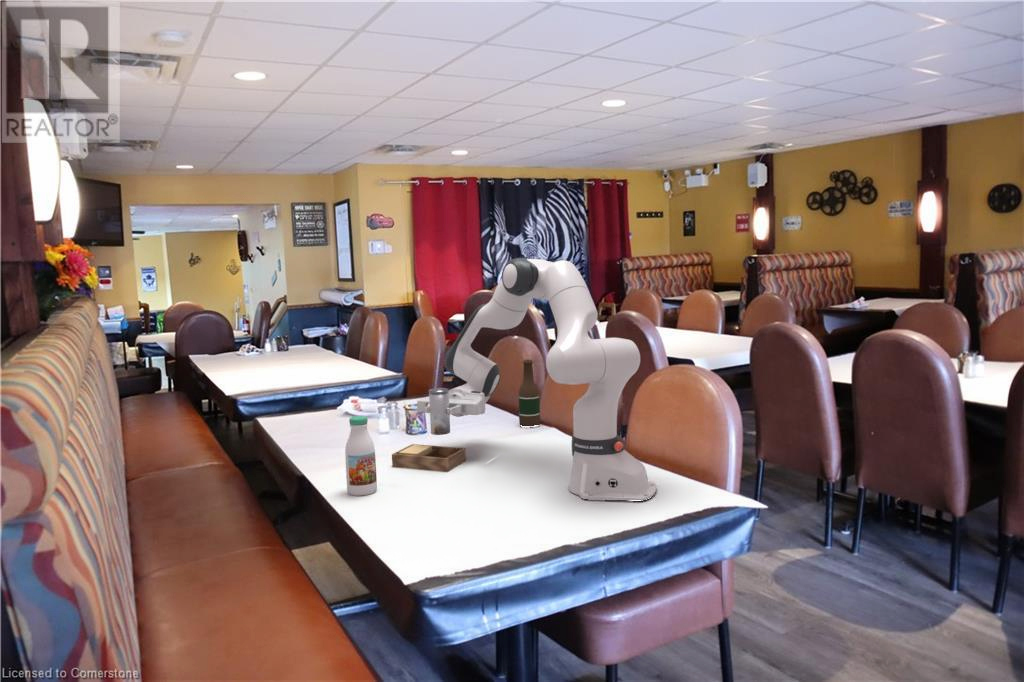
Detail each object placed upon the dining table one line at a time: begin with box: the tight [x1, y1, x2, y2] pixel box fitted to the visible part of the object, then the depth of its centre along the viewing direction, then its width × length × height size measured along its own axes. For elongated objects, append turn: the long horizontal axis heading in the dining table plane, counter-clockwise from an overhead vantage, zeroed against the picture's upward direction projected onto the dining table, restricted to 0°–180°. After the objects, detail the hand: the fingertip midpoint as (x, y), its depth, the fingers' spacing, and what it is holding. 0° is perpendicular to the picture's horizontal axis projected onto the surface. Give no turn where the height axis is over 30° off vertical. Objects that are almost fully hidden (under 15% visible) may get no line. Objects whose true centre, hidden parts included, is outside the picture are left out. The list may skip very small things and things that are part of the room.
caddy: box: [391, 443, 467, 473], centre depth 210 cm, size 18×12×4 cm, turn 68°
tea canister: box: [428, 387, 451, 436], centre depth 207 cm, size 6×6×13 cm
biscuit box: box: [399, 444, 433, 456], centre depth 211 cm, size 6×9×4 cm, turn 158°
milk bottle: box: [344, 415, 378, 497], centre depth 187 cm, size 8×8×20 cm
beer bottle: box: [517, 359, 541, 426], centre depth 256 cm, size 8×8×24 cm
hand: (438, 411), depth 206 cm, fingers closed on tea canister, 6 cm apart
